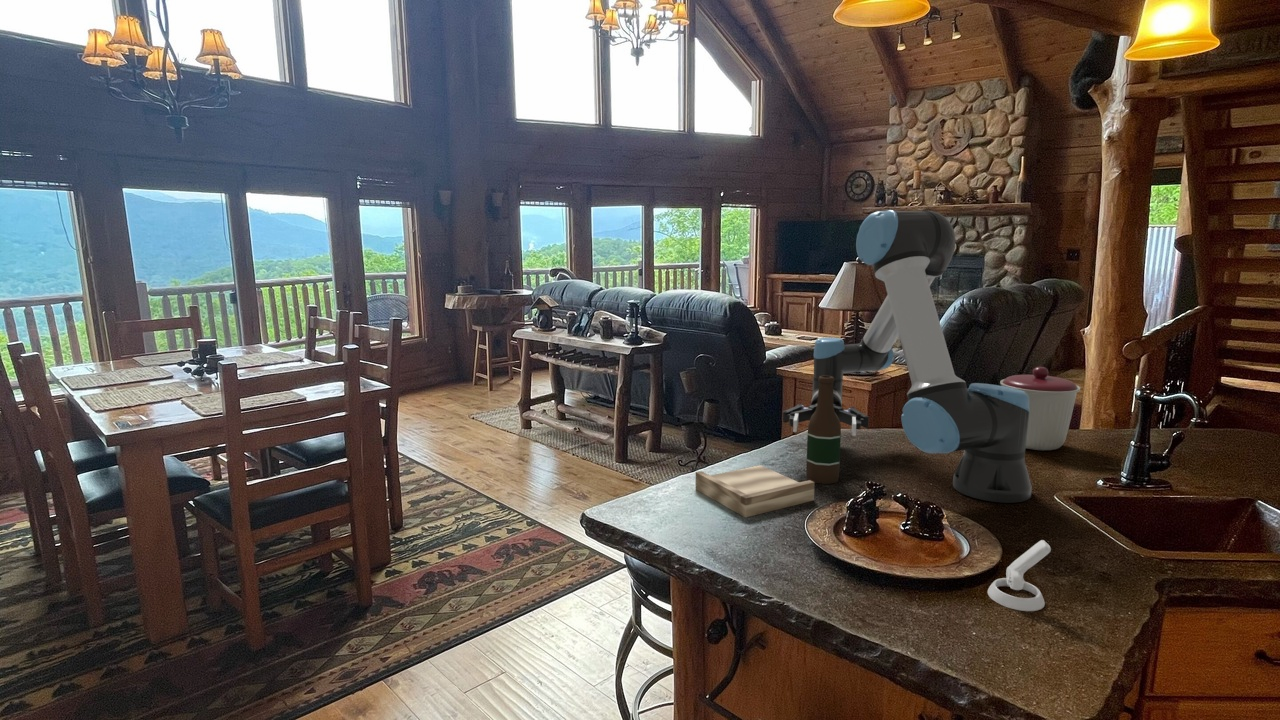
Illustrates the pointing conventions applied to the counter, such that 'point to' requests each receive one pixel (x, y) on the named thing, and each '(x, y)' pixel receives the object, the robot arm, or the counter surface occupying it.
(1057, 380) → the canister
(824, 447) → the beer bottle
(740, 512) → the wooden tray
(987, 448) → the robot arm
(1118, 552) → the counter surface
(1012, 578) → the white ring with handle
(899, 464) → the counter surface
